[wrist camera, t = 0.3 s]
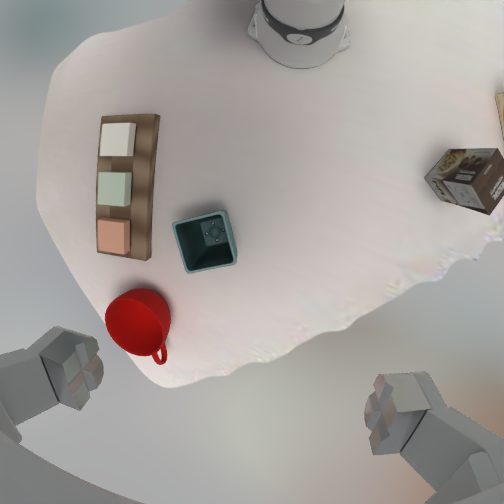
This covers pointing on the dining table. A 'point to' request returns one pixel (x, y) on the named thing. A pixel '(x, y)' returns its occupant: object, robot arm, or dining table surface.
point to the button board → (133, 183)
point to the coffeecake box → (500, 108)
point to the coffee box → (469, 178)
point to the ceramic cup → (139, 323)
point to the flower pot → (206, 242)
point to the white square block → (118, 139)
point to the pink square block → (114, 235)
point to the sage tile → (114, 188)
